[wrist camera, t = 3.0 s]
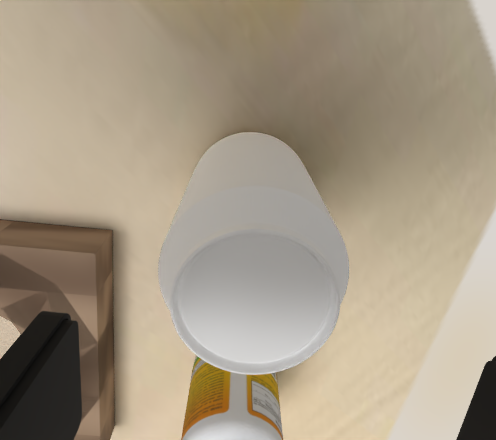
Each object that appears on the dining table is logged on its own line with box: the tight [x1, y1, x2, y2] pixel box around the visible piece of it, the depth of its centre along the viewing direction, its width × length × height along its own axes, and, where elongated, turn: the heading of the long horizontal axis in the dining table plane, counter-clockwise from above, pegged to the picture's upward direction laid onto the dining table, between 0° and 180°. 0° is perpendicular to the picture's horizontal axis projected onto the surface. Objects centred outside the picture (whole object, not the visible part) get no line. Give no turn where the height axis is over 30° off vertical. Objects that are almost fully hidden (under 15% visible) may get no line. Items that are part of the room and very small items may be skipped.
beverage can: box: [158, 132, 349, 375], centre depth 18 cm, size 6×6×12 cm
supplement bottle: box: [181, 356, 283, 440], centre depth 23 cm, size 5×5×10 cm
